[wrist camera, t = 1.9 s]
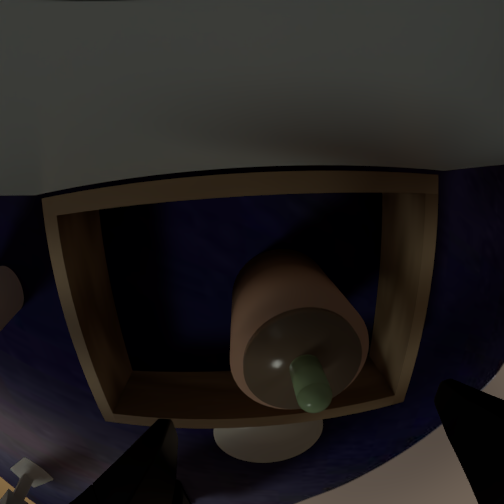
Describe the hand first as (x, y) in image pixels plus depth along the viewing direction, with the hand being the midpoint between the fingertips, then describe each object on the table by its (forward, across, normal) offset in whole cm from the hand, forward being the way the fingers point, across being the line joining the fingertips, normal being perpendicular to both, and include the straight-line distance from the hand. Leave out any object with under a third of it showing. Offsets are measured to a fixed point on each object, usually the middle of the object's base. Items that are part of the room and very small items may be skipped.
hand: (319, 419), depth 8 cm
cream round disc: (+10, +1, +11) cm, 15 cm away
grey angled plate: (-2, +2, -8) cm, 8 cm away
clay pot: (+10, 0, 0) cm, 10 cm away
